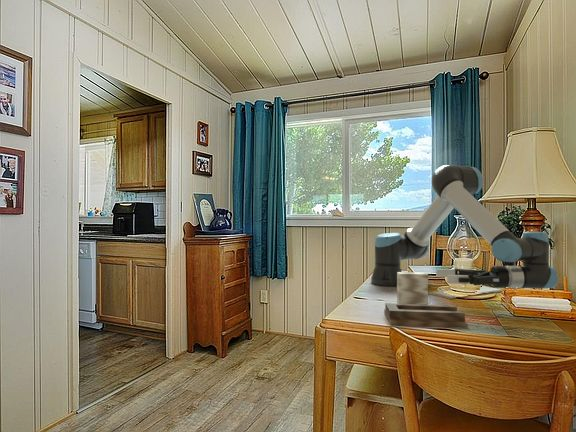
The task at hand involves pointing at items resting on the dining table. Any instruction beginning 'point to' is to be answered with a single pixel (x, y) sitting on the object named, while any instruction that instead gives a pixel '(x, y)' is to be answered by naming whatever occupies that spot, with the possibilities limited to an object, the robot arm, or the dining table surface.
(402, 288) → the pale grey rectangular block
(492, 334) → the dining table surface
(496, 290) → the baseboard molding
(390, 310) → the groove board
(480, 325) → the dining table surface
